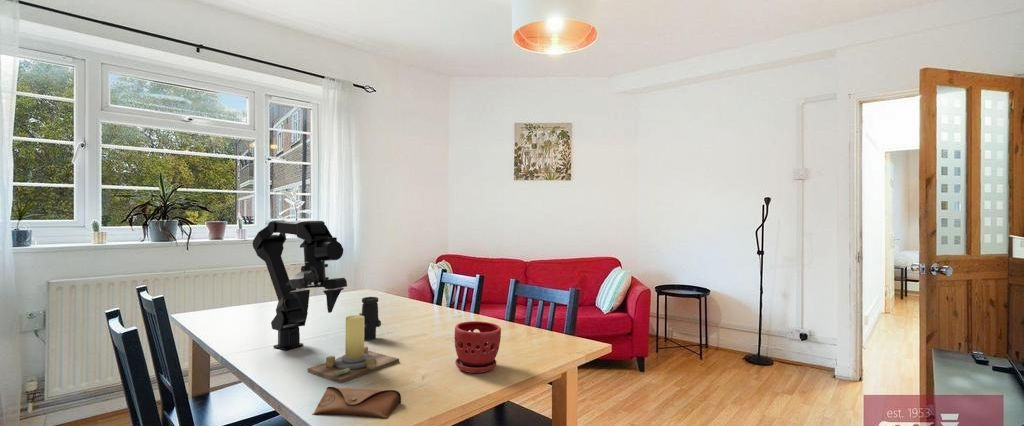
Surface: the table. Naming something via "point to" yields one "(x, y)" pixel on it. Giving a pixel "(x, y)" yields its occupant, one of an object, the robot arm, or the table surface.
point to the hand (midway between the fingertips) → (317, 313)
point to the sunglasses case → (358, 402)
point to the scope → (370, 317)
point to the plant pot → (476, 346)
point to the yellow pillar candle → (354, 340)
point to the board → (351, 367)
